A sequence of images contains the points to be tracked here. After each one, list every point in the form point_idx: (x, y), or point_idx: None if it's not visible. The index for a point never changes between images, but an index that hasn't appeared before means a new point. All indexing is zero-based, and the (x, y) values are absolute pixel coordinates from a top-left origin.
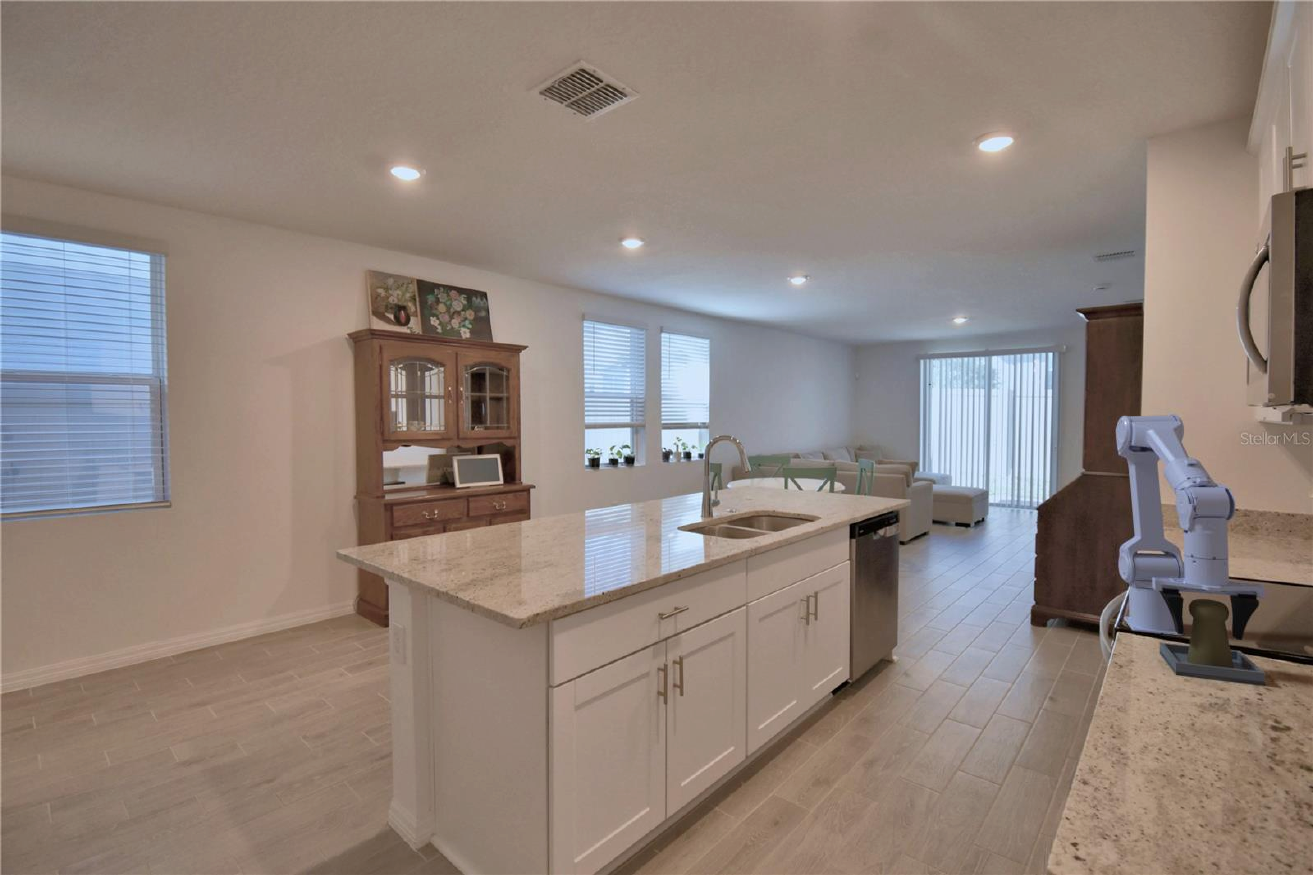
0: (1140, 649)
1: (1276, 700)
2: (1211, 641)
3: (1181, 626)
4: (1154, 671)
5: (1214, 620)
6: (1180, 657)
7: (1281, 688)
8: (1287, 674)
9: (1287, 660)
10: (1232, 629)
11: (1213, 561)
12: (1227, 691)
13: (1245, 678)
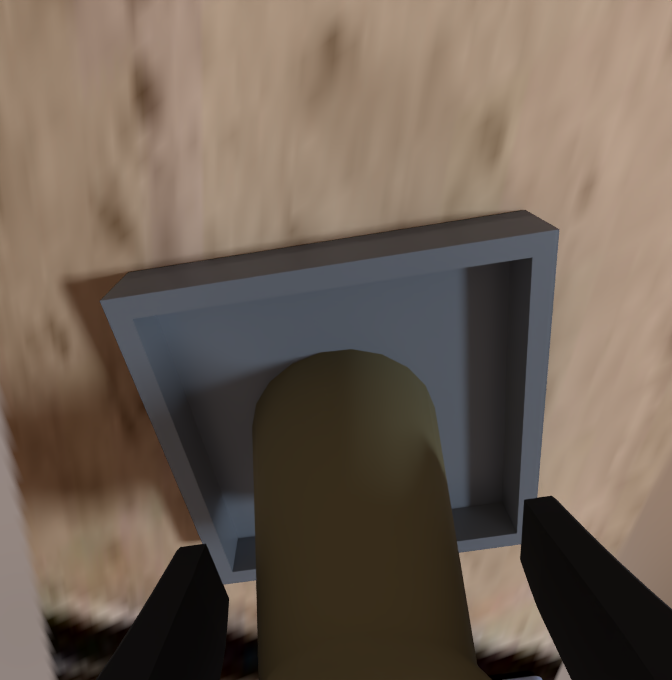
0: (575, 511)
1: (54, 5)
2: (356, 475)
3: (572, 545)
4: (623, 212)
5: (345, 655)
6: (454, 457)
7: (63, 274)
8: (69, 486)
9: (89, 625)
10: (221, 650)
11: None
12: (302, 30)
13: (205, 268)
